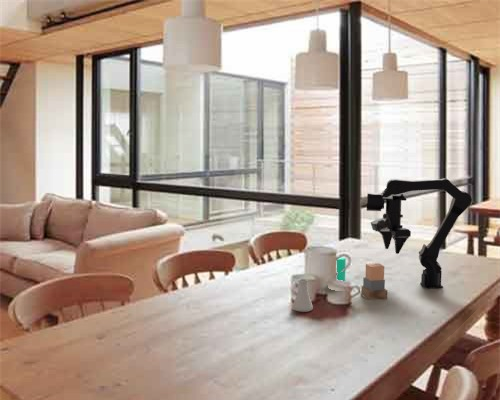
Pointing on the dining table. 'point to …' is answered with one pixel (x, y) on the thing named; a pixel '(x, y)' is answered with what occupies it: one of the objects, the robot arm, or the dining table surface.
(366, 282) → the tower middle
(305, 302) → the flask
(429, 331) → the dining table surface
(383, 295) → the tower base
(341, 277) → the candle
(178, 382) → the dining table surface
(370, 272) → the terracotta cube
